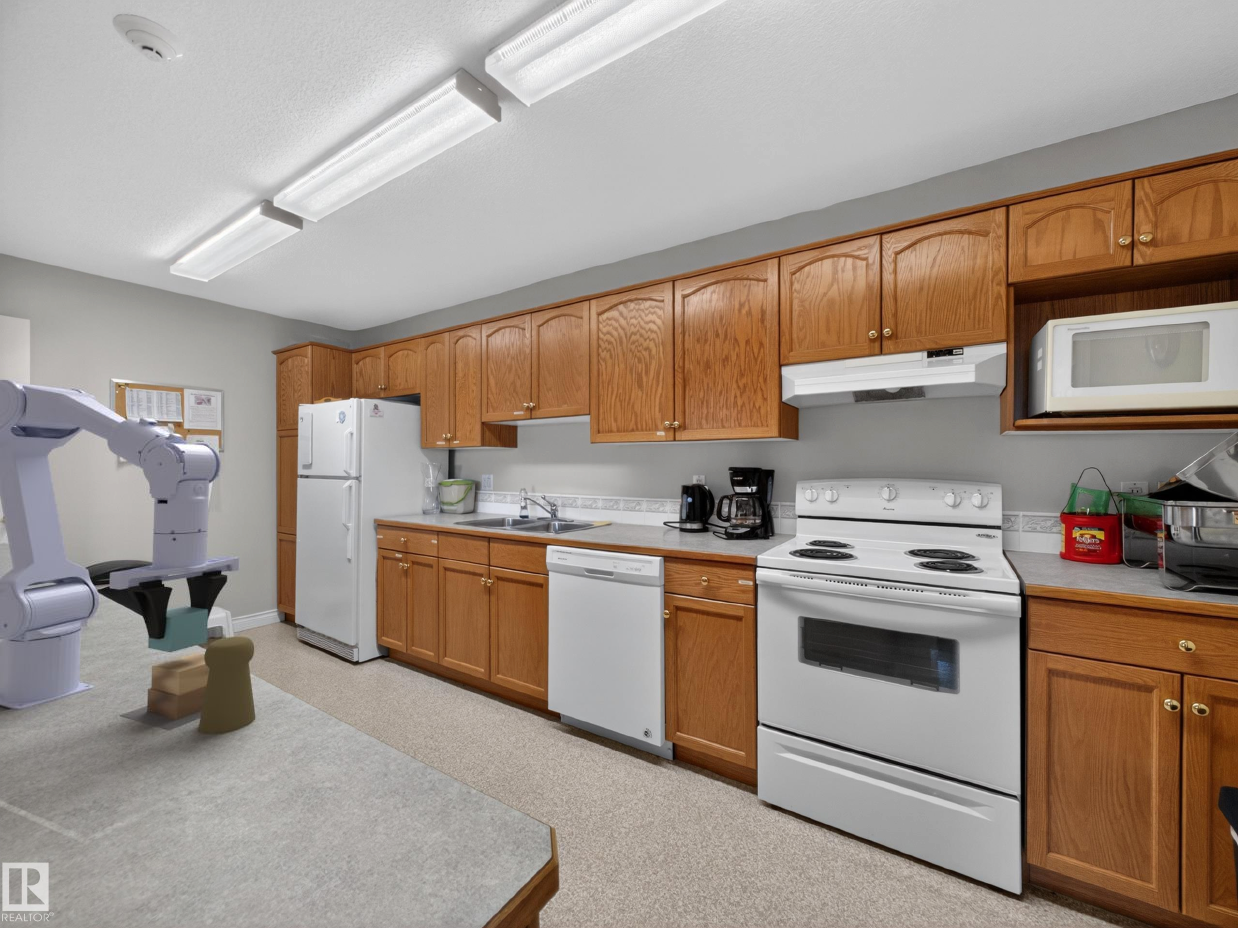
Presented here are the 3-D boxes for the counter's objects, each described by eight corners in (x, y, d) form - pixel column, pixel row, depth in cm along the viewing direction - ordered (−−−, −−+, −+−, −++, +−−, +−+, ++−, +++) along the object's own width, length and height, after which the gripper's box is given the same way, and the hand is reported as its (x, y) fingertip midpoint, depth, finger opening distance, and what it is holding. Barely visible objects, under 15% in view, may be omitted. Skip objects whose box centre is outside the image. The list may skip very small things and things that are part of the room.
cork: (225, 740, 65) (228, 648, 65) (184, 734, 67) (187, 644, 67) (267, 718, 71) (270, 634, 71) (229, 712, 72) (231, 630, 73)
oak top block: (151, 688, 72) (152, 665, 72) (196, 674, 77) (196, 652, 77) (178, 695, 70) (179, 671, 70) (222, 680, 75) (223, 658, 75)
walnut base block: (147, 711, 71) (147, 688, 71) (196, 694, 77) (197, 673, 77) (176, 719, 69) (177, 696, 69) (225, 701, 75) (225, 679, 75)
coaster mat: (119, 718, 70) (119, 715, 70) (201, 689, 80) (201, 687, 80) (169, 732, 67) (169, 729, 67) (249, 701, 76) (249, 698, 76)
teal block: (148, 647, 72) (149, 613, 72) (185, 638, 76) (186, 606, 76) (170, 652, 70) (171, 617, 70) (207, 642, 74) (207, 609, 74)
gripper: (135, 539, 65) (132, 652, 65) (254, 528, 79) (251, 622, 78) (100, 536, 68) (97, 645, 67) (221, 526, 81) (218, 617, 81)
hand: (178, 632), depth 73 cm, fingers closed on teal block, 4 cm apart
